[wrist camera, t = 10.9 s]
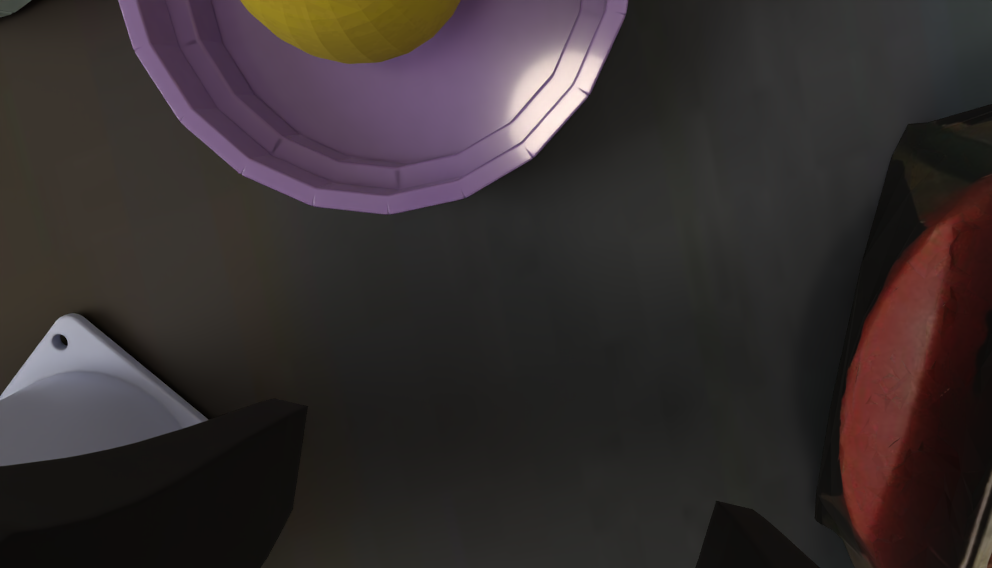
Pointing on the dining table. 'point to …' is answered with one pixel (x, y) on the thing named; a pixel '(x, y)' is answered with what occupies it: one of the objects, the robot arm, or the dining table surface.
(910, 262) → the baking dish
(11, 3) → the celadon bowl
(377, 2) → the lemon
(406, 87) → the lavender bowl
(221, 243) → the dining table surface
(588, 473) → the dining table surface
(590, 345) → the dining table surface
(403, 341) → the dining table surface
